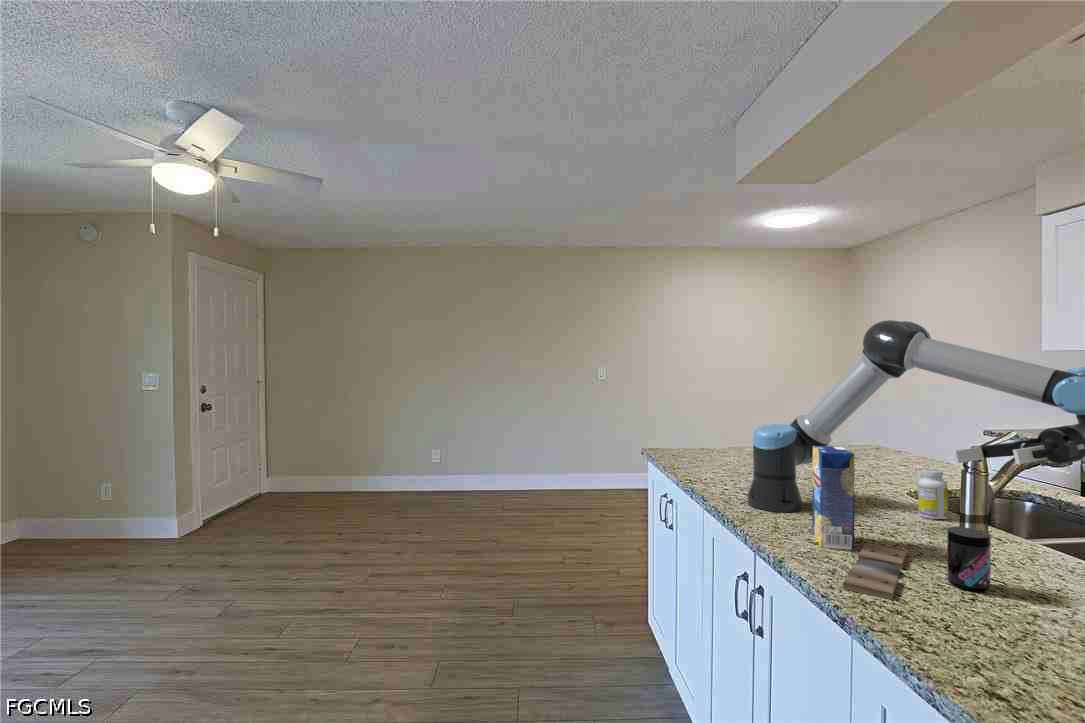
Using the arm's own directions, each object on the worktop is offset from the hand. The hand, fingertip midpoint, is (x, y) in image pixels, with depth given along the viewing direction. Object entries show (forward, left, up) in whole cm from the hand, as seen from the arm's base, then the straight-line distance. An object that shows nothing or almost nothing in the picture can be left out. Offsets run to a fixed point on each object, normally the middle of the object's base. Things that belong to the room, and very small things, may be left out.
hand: (984, 457), depth 115 cm
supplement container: (-2, -11, -24) cm, 26 cm away
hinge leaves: (-17, -13, -23) cm, 32 cm away
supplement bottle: (-10, +40, -24) cm, 47 cm away
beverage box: (-28, +2, -24) cm, 37 cm away
